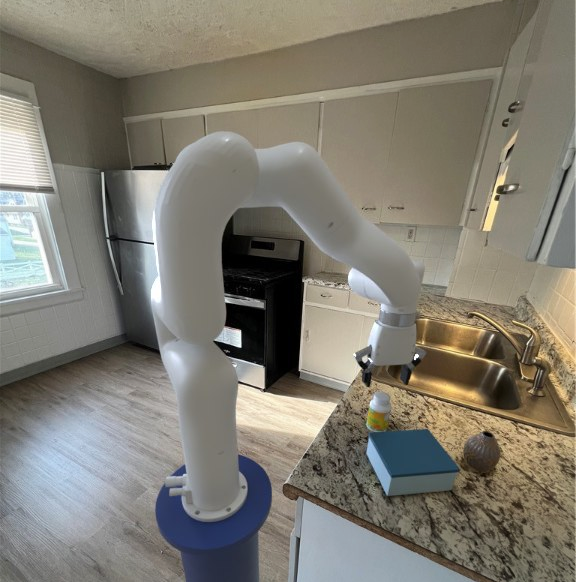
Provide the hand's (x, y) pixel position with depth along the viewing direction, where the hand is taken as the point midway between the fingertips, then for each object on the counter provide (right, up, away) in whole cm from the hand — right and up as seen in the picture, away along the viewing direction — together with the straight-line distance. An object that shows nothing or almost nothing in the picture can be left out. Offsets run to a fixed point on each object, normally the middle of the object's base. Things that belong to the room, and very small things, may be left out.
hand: (385, 383), depth 77 cm
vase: (+19, -18, -5) cm, 27 cm away
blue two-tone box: (+2, -18, -8) cm, 20 cm away
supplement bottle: (-1, -12, +6) cm, 14 cm away
